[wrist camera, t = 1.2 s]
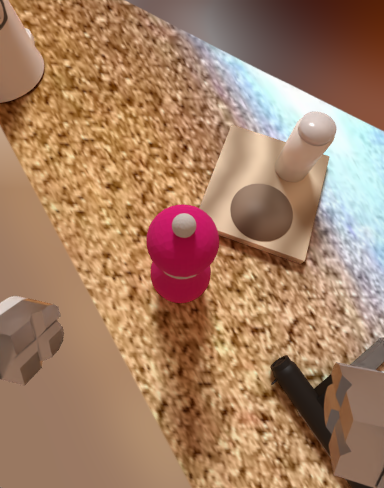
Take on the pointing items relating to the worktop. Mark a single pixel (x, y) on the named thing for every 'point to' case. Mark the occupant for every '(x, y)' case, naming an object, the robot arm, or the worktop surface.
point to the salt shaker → (305, 146)
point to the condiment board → (262, 196)
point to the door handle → (319, 392)
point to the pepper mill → (182, 252)
